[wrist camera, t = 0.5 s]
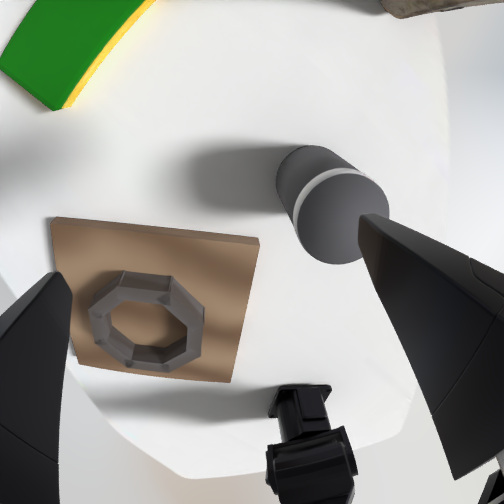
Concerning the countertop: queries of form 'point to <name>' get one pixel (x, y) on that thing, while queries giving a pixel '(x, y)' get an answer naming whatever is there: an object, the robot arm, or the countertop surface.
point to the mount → (155, 296)
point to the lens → (327, 202)
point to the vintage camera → (428, 6)
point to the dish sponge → (66, 45)
